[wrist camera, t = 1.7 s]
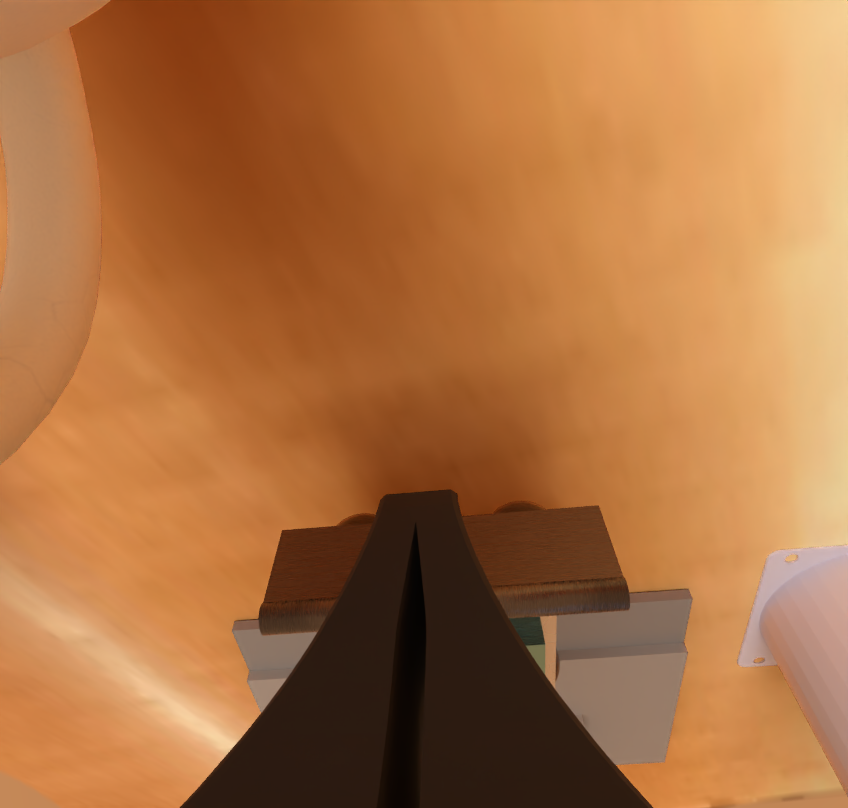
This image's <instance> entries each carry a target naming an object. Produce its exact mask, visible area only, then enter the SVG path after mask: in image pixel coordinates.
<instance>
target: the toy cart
mask: <svg viewBox="0 0 848 808" xmlns="http://www.w3.org/2000/svg"><path fill="white" fill-rule="evenodd" d="M375 516H376V515H374V514H368V513H362V514H356V515H352V516H350V517H348V518H346V519H344V520H343V521H341V522H340V523H339V524H338V525H337V526H331V527H319V528H306V529H293V530H282V533H281V537H280V541H279V545H278V548H277V552H276V556H275V560H274V564H273V567H272V571H271V575H270V579H269V583H268V586H267V590H266V594H265V598H264V602H263V603H262V605H261V607H260V611H259V629H260V632H261V634H262V635H263V636H267V635H282V634H296V633H311V632H318V630H319V629H320V627H321V625H322V624H323V622H324V620H325V618H326V617H327V615H328V613H329V611H330V610H331V608H332V606H333V604H334V603H335V601H336V599H337V597H338V596H339V594H340V592H341V590H342V588H343V586H344V584H345V582H346V580H347V578H348V576H349V574H350V572H351V570H352V568H353V566H354V564H355V562H356V560H357V558H358V556H359V554H360V552H361V549H362V547H363V545H364V543H365V540H366V538H367V536H368V533H369V531H370V529H371V526H372V524H373V521H374V518H375ZM462 519H463V522H464V525H465V528H466V531H467V533H468V536H469V539H470V541H471V544H472V546H473V549H474V551H475V553H476V556H477V558H478V560H479V562H480V564H481V566H482V568H483V570H484V573H485V575H486V577H487V579H488V581H489V583H490V585H491V587H492V589H493V591H494V593H495V594H496V596H497V598H498V600H499V602H500V604H501V605H502V607H503V609H504V611H505V612H506V614H507V616H508V618H509V620H510V621H511V623H512V625H513V626H514V628H515V630H516V631H517V633H518V635H519V636H520V638H521V639H522V641H523V643H524V644H525V646H526V647H527V649H528V650H529V652H530V653H531V655H532V656H533V658H534V659H535V661H536V662H537V664H538V665H539V667H540V668H541V670H542V671H543V673H544V674H545V675H546V677H547V678H548V680H549V681H550V683H551V684H552V685H553V687H554V688H555V682H556V680H557V678H558V675H559V670H560V659H559V654H558V651H557V648H556V626H557V615H572V614H586V613H601V612H615V611H628V610H629V608H630V596H629V590H628V586H627V583H626V580H625V578H624V577H623V575H622V572H621V569H620V566H619V563H618V560H617V557H616V554H615V552H614V549H613V546H612V543H611V540H610V537H609V534H608V531H607V528H606V526H605V523H604V520H603V517H602V514H601V511H600V508H599V506H586V507H573V508H560V509H548V510H546V509H545V508H543V507H542V506H540V505H538V504H535V503H532V502H527V501H515V502H510V503H507V504H505V505H503V506H501V507H500V508H498V509H497V510H496V511H495V512H494V513H493V514H484V515H471V516H462Z"/></svg>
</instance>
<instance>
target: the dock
mask: <svg viewBox="0 0 848 808" xmlns="http://www.w3.org/2000/svg"><path fill="white" fill-rule="evenodd" d="M629 596H630V608H629V610H628V611H615V612H601V613H586V614H572V615H557V626H556V648H557V651H558V654H559V659H560V670H559V675H558V678H557V680H556V682H555V690H556V691H557V692H558V694H559V695H560V696H561V698H562V699H563V700H564V702H565V703H566V704H567V705H568V707H569V708H570V709H571V711H572V712H573V713H574V714H575V716H576V717H577V718H578V720H579V721H580V722H581V723H582V725H583V726H584V727H585V729H586V730H587V731H588V732H589V734H590V735H591V736H592V738H593V739H594V740H595V741H596V743H597V744H598V745H599V746H600V747H601V749H602V750H603V751H604V752H605V753H606V755H607V756H608V757H609V758H610V759H611V760H612V762H613V763H614V764H615V765H624V764H642V763H660V762H665V758H666V753H667V748H668V744H669V739H670V734H671V729H672V725H673V720H674V715H675V710H676V706H677V701H678V696H679V691H680V687H681V682H682V677H683V672H684V668H685V663H686V658H687V653H688V652H687V649H686V647H685V644H684V639H685V634H686V629H687V624H688V619H689V614H690V609H691V604H692V596H691V594H690V592H689V590H688V589H685V590H671V591H657V592H643V593H629ZM232 632H233V634H234V637H235V639H236V641H237V644H238V646H239V648H240V650H241V653H242V655H243V657H244V660H245V662H246V664H247V667H248V669H249V675H248V679H247V682H248V684H249V687H250V689H251V691H252V693H253V696H254V698H255V700H256V702H257V705H258V707H259V709H260V711H261V713H262V712H263V710H264V709H265V707H266V706H267V705H268V703H269V702H270V701H271V699H272V698H273V697H274V695H275V694H276V693H277V691H278V690H279V689H280V687H281V686H282V685H283V683H284V682H285V681H286V679H287V678H288V676H289V675H290V673H291V672H292V670H293V669H294V667H295V666H296V665H297V663H298V662H299V660H300V659H301V657H302V656H303V654H304V653H305V651H306V650H307V648H308V646H309V645H310V643H311V642H312V640H313V638H314V637H315V635H316V634H317V632H311V633H296V634H282V635H267V636H263V635H262V634H261V632H260V629H259V620H246V621H235V622H234V626H233V629H232Z"/></svg>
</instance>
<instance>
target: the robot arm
mask: <svg viewBox="0 0 848 808" xmlns="http://www.w3.org/2000/svg"><path fill="white" fill-rule="evenodd" d="M792 554H796V555H797V558H796V559H795V560H794V561H790V562H787V561H785V559H786V557H787V556H789V555H792ZM760 657H762V658H764V660H763V661H762V662H759V663H755V662H754V660H755V659H756V658H760ZM737 664H738V665H739V666H742V667H757V666H773V665H778V666H779V668H780V670H781V672H782V674H783V676H784V678H785V680H786V681H787V683H788V685H789V687H790V689H791V691H792V693H793V695H794V696H795V698H796V700H797V702H798V704H799V706H800V708H801V710H802V711H803V713H804V715H805V717H806V719H807V721H808V723H809V725H810V727H811V728H812V730H813V732H814V734H815V736H816V738H817V740H818V742H819V743H820V745H821V747H822V749H823V751H824V753H825V755H826V757H827V759H828V760H829V762H830V764H831V766H832V768H833V770H834V772H835V774H836V775H837V777H838V779H839V781H840V783H841V785H842V787H843V789H844V791H845V792H846V794H847V796H848V545H838V546H825V547H811V548H798V549H784V550H777V551H774V552H772V553H771V554H769V555H768V557H767V558H766V561H765V565H764V568H763V572H762V575H761V579H760V582H759V586H758V589H757V593H756V596H755V600H754V603H753V607H752V610H751V614H750V617H749V621H748V624H747V628H746V631H745V635H744V638H743V642H742V645H741V649H740V652H739V656H738V659H737ZM180 808H653V807H652V806H651V805H650V803H649V802H648V801H647V800H646V799H645V798H644V797H643V796H642V795H641V794H640V792H639V791H638V790H637V789H636V788H635V787H634V786H633V785H632V784H631V782H630V781H629V780H628V779H627V778H626V777H625V776H624V774H623V773H622V772H621V771H620V770H619V769H618V767H617V766H616V765H615V764H614V763H613V762H612V760H611V759H610V758H609V757H608V756H607V755H606V753H605V752H604V751H603V750H602V749H601V747H600V746H599V745H598V744H597V743H596V741H595V740H594V739H593V738H592V736H591V735H590V734H589V732H588V731H587V730H586V729H585V727H584V726H583V725H582V723H581V722H580V721H579V720H578V718H577V717H576V716H575V714H574V713H573V712H572V711H571V709H570V708H569V707H568V705H567V704H566V703H565V702H564V700H563V699H562V698H561V696H560V695H559V694H558V692H557V691H556V690H555V688H554V687H553V685H552V684H551V683H550V681H549V680H548V678H547V677H546V675H545V674H544V673H543V671H542V670H541V668H540V667H539V665H538V664H537V662H536V661H535V659H534V658H533V656H532V655H531V653H530V652H529V650H528V649H527V647H526V646H525V644H524V643H523V641H522V639H521V638H520V636H519V635H518V633H517V631H516V630H515V628H514V626H513V625H512V623H511V621H510V620H509V618H508V616H507V614H506V612H505V611H504V609H503V607H502V605H501V604H500V602H499V600H498V598H497V596H496V594H495V593H494V591H493V589H492V587H491V585H490V583H489V581H488V579H487V577H486V575H485V573H484V570H483V568H482V566H481V564H480V562H479V560H478V558H477V556H476V553H475V551H474V549H473V546H472V544H471V541H470V539H469V536H468V533H467V531H466V528H465V525H464V522H463V519H462V515H461V512H460V508H459V503H458V496H457V493H455V492H454V491H452V490H439V491H426V492H414V493H402V494H389V495H385V496H384V497H383V498H382V499H381V500H380V504H379V507H378V510H377V513H376V516H375V518H374V521H373V524H372V526H371V529H370V531H369V533H368V536H367V538H366V540H365V543H364V545H363V547H362V549H361V552H360V554H359V556H358V558H357V560H356V562H355V564H354V566H353V568H352V570H351V572H350V574H349V576H348V578H347V580H346V582H345V584H344V586H343V588H342V590H341V592H340V594H339V596H338V597H337V599H336V601H335V603H334V604H333V606H332V608H331V610H330V611H329V613H328V615H327V617H326V618H325V620H324V622H323V624H322V625H321V627H320V629H319V630H318V632H317V634H316V635H315V637H314V638H313V640H312V642H311V643H310V645H309V646H308V648H307V650H306V651H305V653H304V654H303V656H302V657H301V659H300V660H299V662H298V663H297V665H296V666H295V667H294V669H293V670H292V672H291V673H290V675H289V676H288V678H287V679H286V681H285V682H284V683H283V685H282V686H281V687H280V689H279V690H278V691H277V693H276V694H275V695H274V697H273V698H272V699H271V701H270V702H269V703H268V705H267V706H266V707H265V709H264V710H263V712H262V713H261V714H260V715H259V717H258V718H257V719H256V721H255V722H254V723H253V724H252V726H251V727H250V728H249V729H248V731H247V732H246V733H245V734H244V736H243V737H242V738H241V739H240V740H239V741H238V743H237V744H236V745H235V746H234V747H233V748H232V750H231V751H230V752H229V753H228V754H227V755H226V756H225V758H224V759H223V760H222V761H221V762H220V763H219V765H218V766H217V767H216V768H215V769H214V770H213V772H212V773H211V774H210V775H209V776H208V777H207V778H206V780H205V781H204V782H203V783H202V784H201V785H200V787H199V788H198V789H197V790H196V791H195V792H194V793H193V794H192V795H191V796H190V797H189V798H188V800H187V801H186V802H185V803H184V804H183V805H182V806H181V807H180Z"/></svg>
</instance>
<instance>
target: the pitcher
mask: <svg viewBox="0 0 848 808" xmlns="http://www.w3.org/2000/svg"><path fill="white" fill-rule="evenodd" d="M110 1H111V0H0V136H1V142H2V148H3V154H4V159H5V171H6V182H7V250H6V259H5V267H4V276H3V283H2V286H1V290H0V464H2V463H3V462H4V461H5V460H6V459H8V458H9V457H10V456H11V455H12V454H13V453H15V452H16V451H17V450H18V448H19V447H20V446H21V445H22V444H23V443H24V442H25V440H26V439H27V438H28V437H29V436H30V435H31V434H32V432H33V431H34V430H35V429H36V428H37V427H38V426H39V424H40V423H41V422H42V421H43V420H44V419H45V418H46V416H47V415H48V414H49V413H50V411H51V409H52V408H53V406H54V405H55V403H56V402H57V400H58V398H59V397H60V395H61V394H62V392H63V391H64V389H65V387H66V386H67V384H68V383H69V381H70V380H71V378H72V376H73V374H74V372H75V370H76V367H77V365H78V362H79V360H80V358H81V355H82V353H83V350H84V348H85V346H86V343H87V341H88V338H89V334H90V329H91V325H92V321H93V317H94V313H95V309H96V304H97V297H98V288H99V279H100V270H101V244H102V219H101V194H100V184H99V174H98V164H97V158H96V152H95V146H94V139H93V133H92V127H91V122H90V117H89V113H88V108H87V103H86V98H85V93H84V88H83V83H82V79H81V74H80V70H79V65H78V60H77V56H76V51H75V48H74V44H73V40H72V37H71V33H70V30H69V28H70V27H72V26H74V25H75V24H77V23H79V22H80V21H82V20H84V19H85V18H87V17H88V16H90V15H91V14H93V13H95V12H96V11H98V10H99V9H101V8H102V7H103V6H105V5H106V4H107V3H108V2H110Z"/></svg>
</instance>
